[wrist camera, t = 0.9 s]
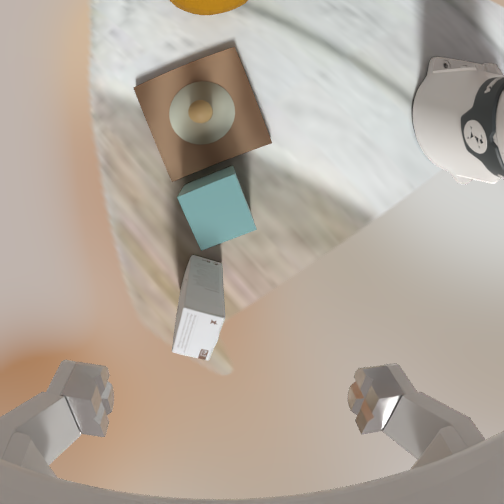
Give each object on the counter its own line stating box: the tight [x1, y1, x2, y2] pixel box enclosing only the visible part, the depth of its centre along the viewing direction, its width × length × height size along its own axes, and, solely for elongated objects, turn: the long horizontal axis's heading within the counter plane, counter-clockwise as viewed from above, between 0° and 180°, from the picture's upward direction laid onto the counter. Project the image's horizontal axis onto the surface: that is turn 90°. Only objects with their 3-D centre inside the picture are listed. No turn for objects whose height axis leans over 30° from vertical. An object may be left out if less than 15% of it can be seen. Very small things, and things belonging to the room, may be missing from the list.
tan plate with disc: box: [134, 47, 272, 182], centre depth 32 cm, size 12×12×4 cm
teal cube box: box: [177, 165, 257, 251], centre depth 35 cm, size 6×6×7 cm
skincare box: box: [172, 255, 225, 360], centre depth 36 cm, size 6×4×12 cm
